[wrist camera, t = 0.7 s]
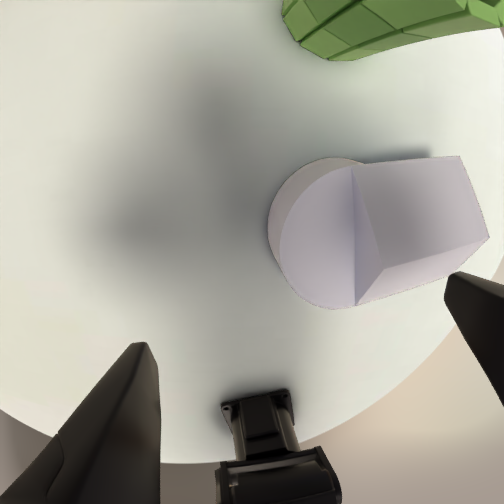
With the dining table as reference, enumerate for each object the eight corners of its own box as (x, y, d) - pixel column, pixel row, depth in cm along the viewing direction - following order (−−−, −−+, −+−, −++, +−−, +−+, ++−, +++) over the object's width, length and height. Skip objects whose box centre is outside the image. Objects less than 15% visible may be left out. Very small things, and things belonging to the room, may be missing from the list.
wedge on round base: (429, 148, 19) (257, 168, 18) (496, 166, 13) (286, 193, 12) (425, 257, 22) (276, 295, 22) (477, 297, 16) (303, 360, 16)
